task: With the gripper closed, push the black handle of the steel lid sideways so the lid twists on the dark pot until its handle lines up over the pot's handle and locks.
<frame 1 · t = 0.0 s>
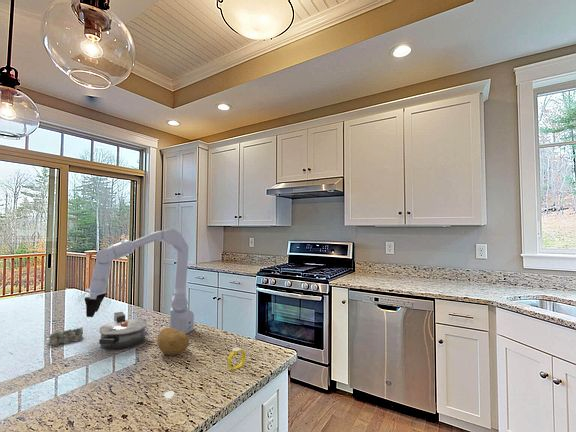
hand: (92, 314, 114), 11 cm above the worktop, tool pointing down, fingers open, 7 cm apart
cooker pot: (123, 342, 113), on the worktop
lid: (122, 322, 116), point 7 cm above the worktop, hinge at 40.0°
potato: (173, 354, 103), on the worktop
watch: (236, 368, 93), on the worktop
egg carton: (66, 341, 115), on the worktop
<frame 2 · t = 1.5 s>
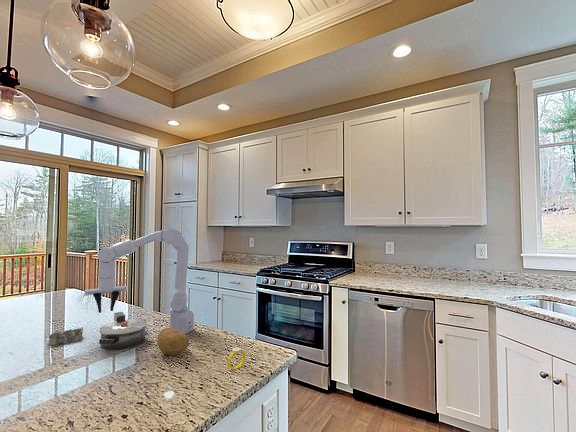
hand: (105, 311, 119), 10 cm above the worktop, tool pointing down, fingers open, 3 cm apart
nothing on the worktop moved.
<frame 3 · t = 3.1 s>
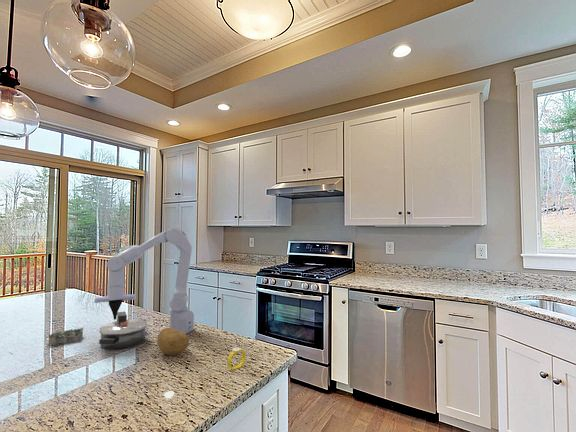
hand: (115, 318, 121), 7 cm above the worktop, tool pointing down, fingers closed
lid: (123, 322, 116), point 7 cm above the worktop, hinge at 35.7°, touching gripper
everything else where it was.
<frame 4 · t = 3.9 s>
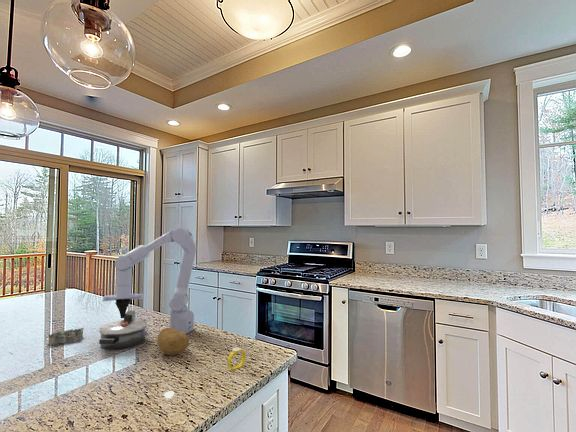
hand: (122, 317, 123), 7 cm above the worktop, tool pointing down, fingers closed
lid: (125, 321, 117), point 7 cm above the worktop, hinge at 19.8°, touching gripper
everything else where it was.
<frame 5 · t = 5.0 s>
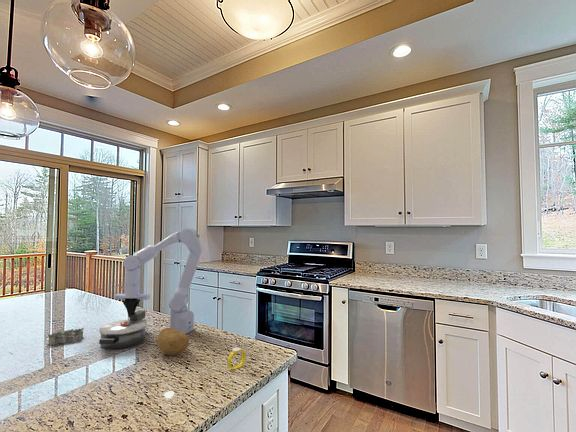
hand: (131, 316, 124), 7 cm above the worktop, tool pointing down, fingers closed
lid: (128, 321, 117), point 7 cm above the worktop, hinge at 2.1°, touching gripper
everything else where it was.
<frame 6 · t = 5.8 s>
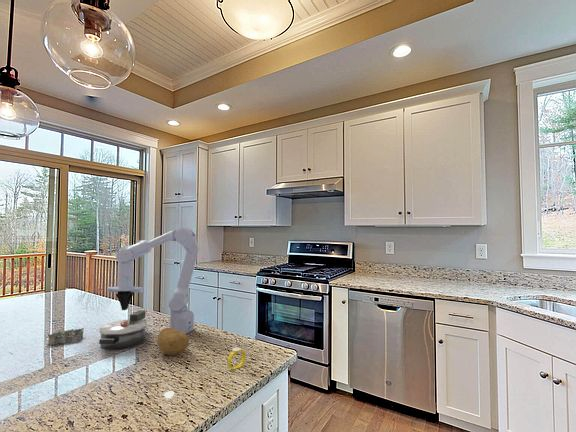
hand: (124, 309, 124), 10 cm above the worktop, tool pointing down, fingers closed
lid: (128, 321, 117), point 7 cm above the worktop, hinge at 2.0°
everything else where it was.
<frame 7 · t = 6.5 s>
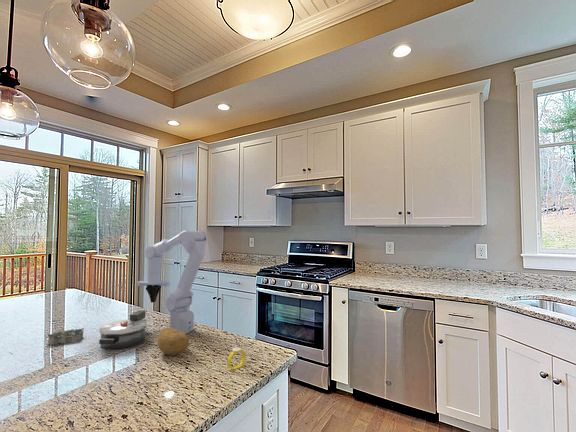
hand: (153, 301, 135), 10 cm above the worktop, tool pointing down, fingers closed
nothing on the worktop moved.
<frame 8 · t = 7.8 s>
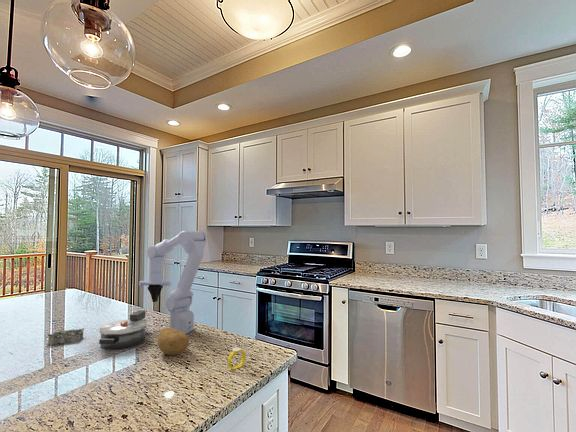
hand: (155, 301, 135), 10 cm above the worktop, tool pointing down, fingers closed
nothing on the worktop moved.
at the end: lid at +2° (first picture: +40°); egg carton moved 0.5 cm from its start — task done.
